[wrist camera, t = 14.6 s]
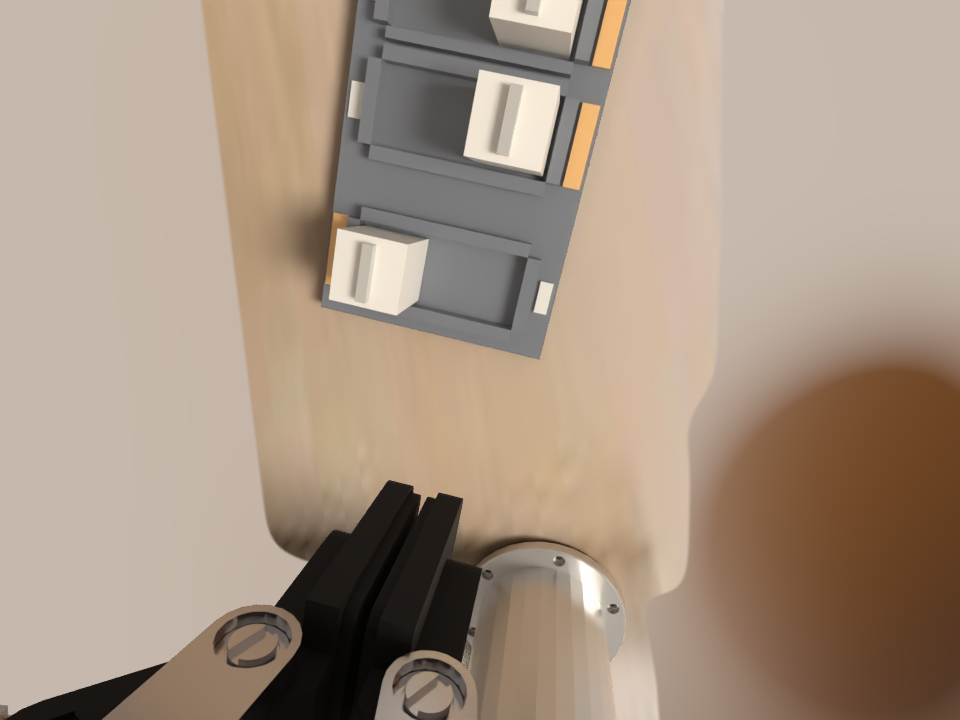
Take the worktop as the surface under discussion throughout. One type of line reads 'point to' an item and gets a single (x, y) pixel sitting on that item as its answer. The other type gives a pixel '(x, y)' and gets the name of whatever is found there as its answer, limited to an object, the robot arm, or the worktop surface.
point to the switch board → (457, 179)
